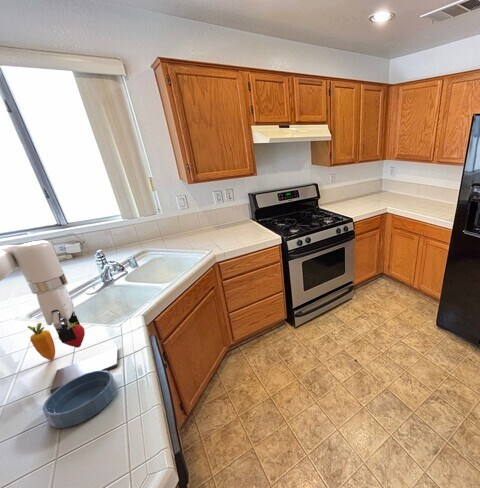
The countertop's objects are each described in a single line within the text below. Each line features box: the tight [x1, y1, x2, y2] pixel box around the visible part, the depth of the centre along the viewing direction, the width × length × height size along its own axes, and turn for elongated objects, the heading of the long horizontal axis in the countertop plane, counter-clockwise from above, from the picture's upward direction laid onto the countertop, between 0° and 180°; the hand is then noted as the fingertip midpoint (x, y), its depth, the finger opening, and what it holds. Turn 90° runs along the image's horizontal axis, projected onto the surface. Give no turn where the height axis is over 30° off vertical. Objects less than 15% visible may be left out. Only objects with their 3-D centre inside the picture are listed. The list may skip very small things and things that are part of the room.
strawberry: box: [57, 322, 86, 348], centre depth 82 cm, size 6×8×10 cm
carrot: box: [27, 322, 56, 361], centre depth 89 cm, size 5×5×15 cm
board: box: [49, 347, 119, 394], centre depth 86 cm, size 16×10×1 cm, turn 127°
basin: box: [42, 370, 118, 429], centre depth 73 cm, size 14×14×5 cm
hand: (71, 333), depth 82 cm, fingers closed on strawberry, 7 cm apart
